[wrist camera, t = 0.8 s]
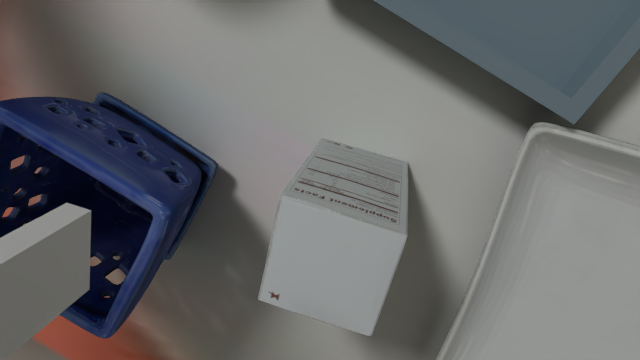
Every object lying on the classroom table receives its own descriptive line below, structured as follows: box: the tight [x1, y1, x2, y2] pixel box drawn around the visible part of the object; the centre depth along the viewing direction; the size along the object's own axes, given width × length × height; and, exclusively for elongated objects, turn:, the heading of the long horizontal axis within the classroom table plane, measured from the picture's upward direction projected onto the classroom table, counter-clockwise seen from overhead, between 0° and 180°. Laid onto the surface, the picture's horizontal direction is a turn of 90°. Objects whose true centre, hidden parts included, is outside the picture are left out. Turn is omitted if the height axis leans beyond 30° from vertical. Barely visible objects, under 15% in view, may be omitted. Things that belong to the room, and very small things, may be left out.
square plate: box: [435, 122, 640, 360], centre depth 34 cm, size 27×27×4 cm
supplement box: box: [258, 139, 409, 336], centre depth 30 cm, size 7×7×13 cm
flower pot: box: [0, 93, 218, 338], centre depth 34 cm, size 13×13×12 cm
